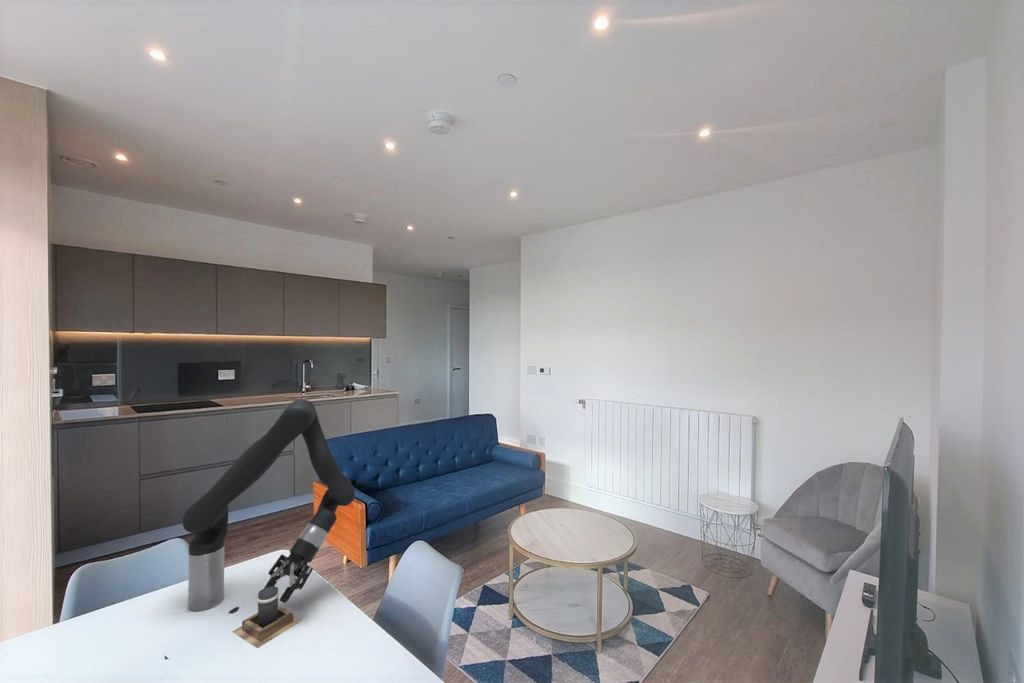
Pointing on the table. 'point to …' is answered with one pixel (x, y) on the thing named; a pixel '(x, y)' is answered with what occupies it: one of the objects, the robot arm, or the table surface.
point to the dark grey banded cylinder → (267, 606)
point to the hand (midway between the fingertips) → (273, 597)
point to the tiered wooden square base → (266, 628)
